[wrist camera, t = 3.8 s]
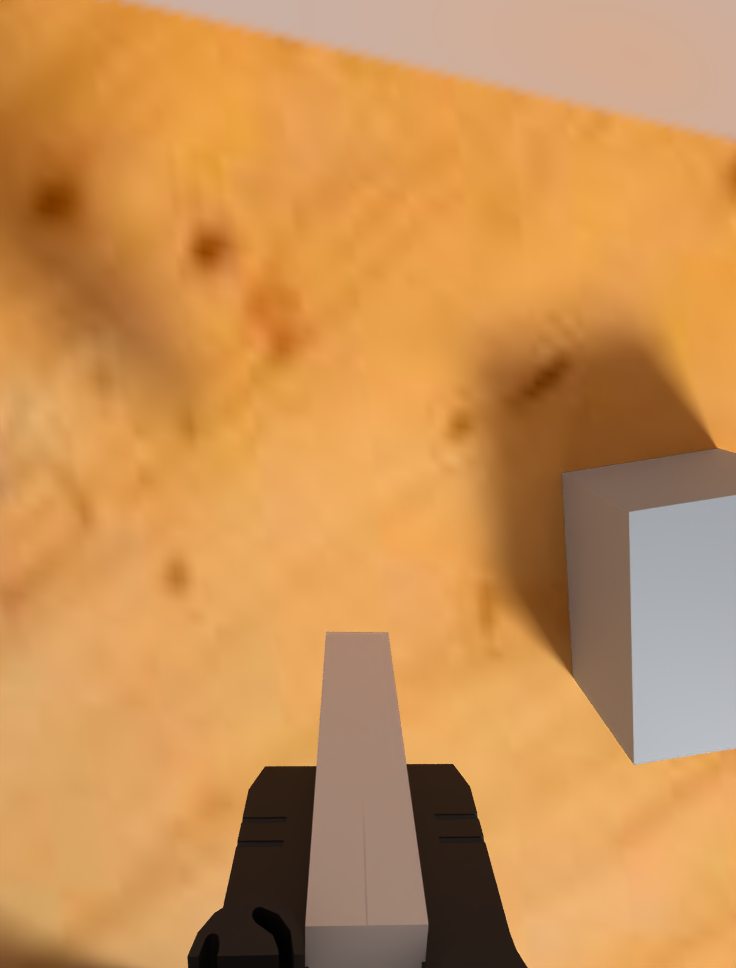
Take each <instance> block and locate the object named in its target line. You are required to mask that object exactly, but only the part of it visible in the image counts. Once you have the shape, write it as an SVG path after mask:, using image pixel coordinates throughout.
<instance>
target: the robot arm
mask: <svg viewBox="0 0 736 968" xmlns="http://www.w3.org/2000/svg"><path fill="white" fill-rule="evenodd" d="M483 837H484V836H483V833H482V829H481V825H480V822H479V819H478V817H477V811H476V807H475V803H474V800H473V796H472V792H471V789H470V786H469V785H468V783H467V782H466V781H465V779H464V778H463V777H462V775H461V774H460V773H459V772H458V770H457V769H456V768H455V766H454V765H453V764H406V758H405V751H404V744H403V737H402V729H401V722H400V715H399V708H398V700H397V693H396V686H395V679H394V671H393V664H392V657H391V650H390V643H389V635H388V633H384V632H326V641H325V655H324V669H323V684H322V698H321V712H320V726H319V740H318V754H317V766H269V767H264V769H263V770H262V772H261V773H260V774H259V776H258V777H257V779H256V780H255V781H254V783H253V784H252V786H251V787H250V789H249V791H248V795H247V800H246V805H245V809H244V814H243V821H242V823H241V828H240V832H239V837H238V844H237V847H236V851H235V855H234V860H233V864H232V869H231V874H230V878H229V883H228V887H227V892H226V897H225V901H224V906H223V908H222V909H220V910H219V911H217V912H215V913H214V914H213V915H212V917H211V918H210V919H209V920H208V921H207V922H206V924H205V925H204V926H203V927H202V928H201V929H200V931H199V932H198V933H197V936H196V938H195V940H194V943H193V945H192V947H191V950H190V952H189V954H188V957H187V958H188V968H528V967H527V966H526V965H525V963H524V961H523V960H522V958H521V957H520V955H519V953H518V952H517V950H516V948H515V945H514V943H513V940H512V937H511V935H510V932H509V928H508V924H507V921H506V917H505V913H504V910H503V906H502V902H501V899H500V895H499V891H498V888H497V884H496V880H495V877H494V873H493V869H492V866H491V862H490V858H489V855H488V851H487V847H486V844H485V842H484V838H483Z"/></svg>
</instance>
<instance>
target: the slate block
mask: <svg viewBox="0 0 736 968" xmlns="http://www.w3.org/2000/svg"><path fill="white" fill-rule="evenodd" d="M562 486H563V505H564V523H565V542H566V561H567V580H568V599H569V617H570V636H571V655H572V674H573V678H574V679H575V681H576V682H577V684H578V685H579V687H580V688H581V690H582V691H583V692H584V694H585V695H586V697H587V698H588V700H589V701H590V702H591V704H592V705H593V707H594V708H595V710H596V711H597V712H598V714H599V715H600V717H601V718H602V720H603V721H604V723H605V724H606V725H607V727H608V728H609V730H610V731H611V733H612V734H613V735H614V737H615V738H616V740H617V741H618V743H619V744H620V745H621V747H622V748H623V750H624V751H625V753H626V754H627V756H628V757H629V758H630V760H631V761H632V763H633V764H634V765H636V764H642V763H648V762H655V761H661V760H667V759H673V758H679V757H685V756H691V755H697V754H704V753H710V752H716V751H722V750H728V749H734V748H736V453H733V452H729V451H725V450H722V449H718V448H716V449H710V450H704V451H697V452H691V453H685V454H678V455H672V456H666V457H659V458H653V459H647V460H641V461H634V462H628V463H622V464H615V465H609V466H603V467H596V468H590V469H584V470H577V471H571V472H565V473H562Z"/></svg>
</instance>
